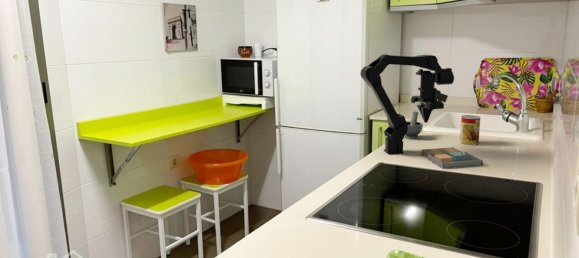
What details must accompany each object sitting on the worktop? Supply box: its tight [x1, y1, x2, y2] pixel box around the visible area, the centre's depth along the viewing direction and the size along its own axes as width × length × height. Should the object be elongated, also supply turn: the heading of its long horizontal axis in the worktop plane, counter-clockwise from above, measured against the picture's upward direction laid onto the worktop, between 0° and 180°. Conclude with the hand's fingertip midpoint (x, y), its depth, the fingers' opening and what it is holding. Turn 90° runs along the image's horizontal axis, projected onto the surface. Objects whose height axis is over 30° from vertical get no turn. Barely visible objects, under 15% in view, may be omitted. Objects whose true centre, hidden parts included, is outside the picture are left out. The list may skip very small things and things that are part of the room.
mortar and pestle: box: [404, 110, 423, 140], centre depth 212 cm, size 11×9×12 cm
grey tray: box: [427, 151, 483, 169], centre depth 173 cm, size 16×12×2 cm
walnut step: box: [420, 146, 464, 159], centre depth 183 cm, size 14×8×2 cm, turn 99°
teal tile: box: [449, 151, 467, 161], centre depth 177 cm, size 5×5×2 cm
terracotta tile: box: [434, 154, 453, 163], centre depth 174 cm, size 5×5×2 cm
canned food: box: [459, 114, 481, 146], centre depth 200 cm, size 8×8×12 cm
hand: (425, 122), depth 189 cm, fingers closed
